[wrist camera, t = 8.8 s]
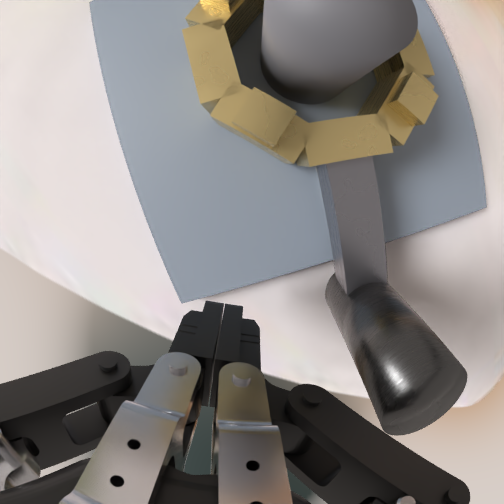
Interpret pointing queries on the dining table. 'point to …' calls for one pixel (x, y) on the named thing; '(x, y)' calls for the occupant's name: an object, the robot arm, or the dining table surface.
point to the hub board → (257, 160)
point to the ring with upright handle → (343, 206)
